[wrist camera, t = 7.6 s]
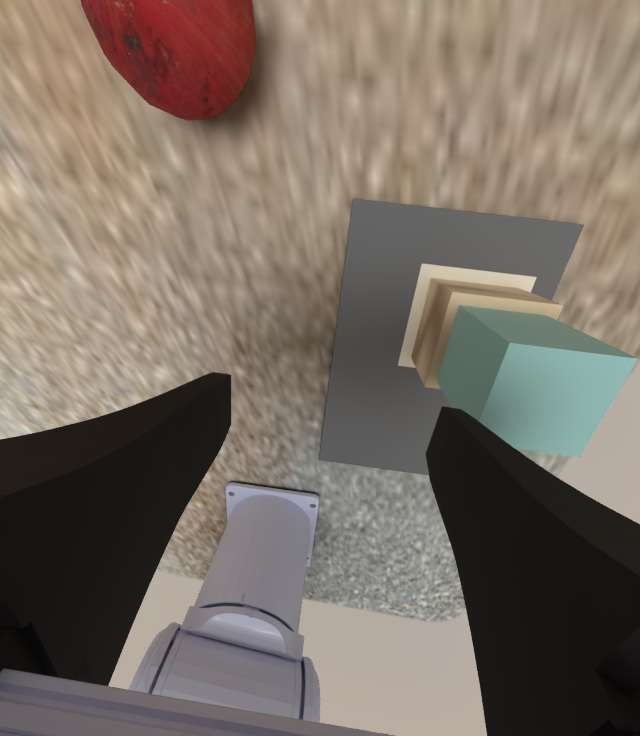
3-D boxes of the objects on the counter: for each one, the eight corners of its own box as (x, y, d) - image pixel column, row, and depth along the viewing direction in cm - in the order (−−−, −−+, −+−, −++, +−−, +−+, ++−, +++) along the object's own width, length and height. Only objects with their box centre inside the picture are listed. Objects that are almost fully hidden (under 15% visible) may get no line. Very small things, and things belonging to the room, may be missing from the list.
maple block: (489, 367, 20) (521, 399, 16) (411, 357, 20) (424, 386, 16) (519, 288, 18) (563, 305, 14) (431, 277, 18) (452, 291, 14)
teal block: (514, 390, 16) (579, 457, 11) (436, 380, 16) (470, 442, 12) (546, 315, 14) (638, 358, 10) (459, 305, 14) (509, 342, 10)
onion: (255, 156, 16) (181, 105, 9) (149, 111, 16) (-16, 20, 9) (288, 10, 14) (224, -215, 7) (164, -48, 13) (-49, -358, 6)
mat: (471, 476, 24) (473, 481, 24) (319, 455, 25) (318, 459, 24) (577, 224, 16) (584, 224, 16) (353, 199, 17) (353, 198, 16)
